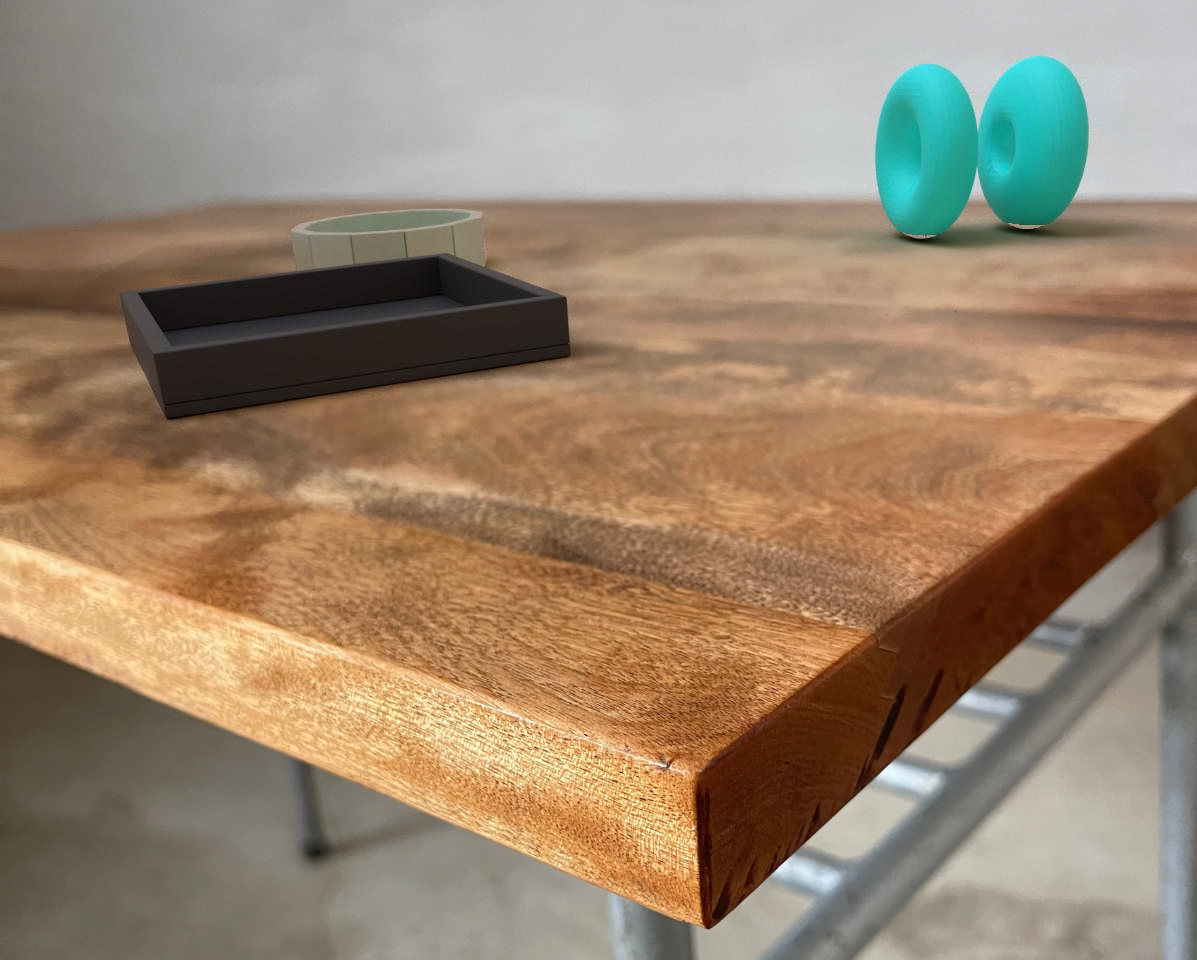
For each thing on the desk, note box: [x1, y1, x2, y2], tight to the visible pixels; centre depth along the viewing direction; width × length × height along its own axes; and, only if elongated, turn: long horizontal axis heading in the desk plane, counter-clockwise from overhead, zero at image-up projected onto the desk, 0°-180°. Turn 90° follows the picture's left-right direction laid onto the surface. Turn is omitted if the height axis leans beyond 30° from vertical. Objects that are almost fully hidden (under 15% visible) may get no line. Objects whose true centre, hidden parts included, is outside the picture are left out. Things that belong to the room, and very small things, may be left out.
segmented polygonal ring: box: [289, 208, 488, 271], centre depth 77 cm, size 12×12×3 cm
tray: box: [118, 253, 572, 419], centre depth 56 cm, size 17×17×2 cm
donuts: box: [874, 55, 1090, 236], centre depth 75 cm, size 10×10×10 cm
